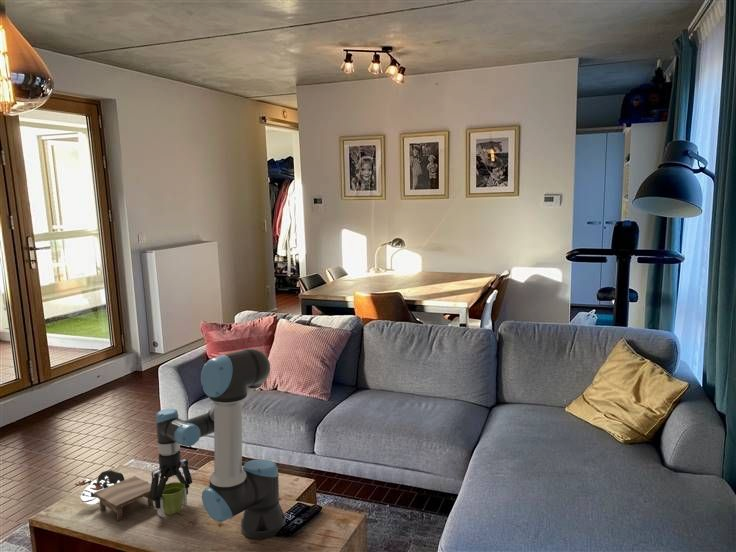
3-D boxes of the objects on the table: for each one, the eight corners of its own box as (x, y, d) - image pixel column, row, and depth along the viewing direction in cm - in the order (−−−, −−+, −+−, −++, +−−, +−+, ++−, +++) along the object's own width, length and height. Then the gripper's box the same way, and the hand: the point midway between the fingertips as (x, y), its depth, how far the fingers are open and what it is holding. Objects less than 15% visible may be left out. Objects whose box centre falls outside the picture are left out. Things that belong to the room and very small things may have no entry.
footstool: (158, 504, 202) (157, 487, 202) (117, 524, 190) (115, 505, 189) (135, 492, 212) (134, 475, 211) (95, 510, 199) (93, 492, 199)
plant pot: (177, 518, 193) (176, 495, 192) (154, 516, 195) (152, 493, 194) (191, 504, 202) (189, 483, 201) (168, 502, 204) (167, 481, 203)
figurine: (133, 472, 215) (98, 485, 198) (130, 496, 215) (95, 511, 198) (105, 466, 220) (68, 478, 202) (102, 489, 219) (65, 504, 202)
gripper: (188, 439, 207) (191, 494, 209) (135, 459, 190) (139, 519, 192) (200, 443, 202) (203, 500, 205) (147, 465, 185) (151, 526, 188)
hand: (172, 509), depth 198 cm, fingers open, 9 cm apart
